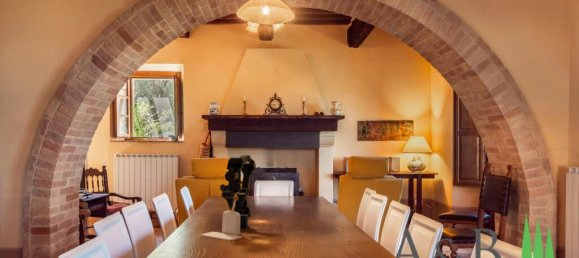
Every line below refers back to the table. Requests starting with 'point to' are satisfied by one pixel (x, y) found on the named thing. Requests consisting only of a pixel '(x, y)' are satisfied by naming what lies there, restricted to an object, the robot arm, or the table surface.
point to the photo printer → (231, 223)
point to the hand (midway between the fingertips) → (235, 208)
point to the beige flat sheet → (221, 236)
